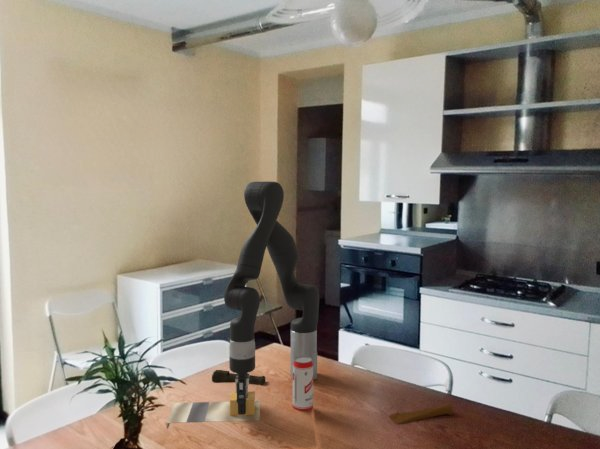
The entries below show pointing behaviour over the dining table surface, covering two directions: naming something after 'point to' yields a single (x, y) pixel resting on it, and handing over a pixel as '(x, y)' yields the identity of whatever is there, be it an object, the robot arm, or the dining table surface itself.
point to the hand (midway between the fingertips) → (242, 407)
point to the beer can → (303, 383)
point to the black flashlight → (227, 377)
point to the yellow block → (249, 403)
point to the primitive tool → (421, 414)
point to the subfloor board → (208, 412)
